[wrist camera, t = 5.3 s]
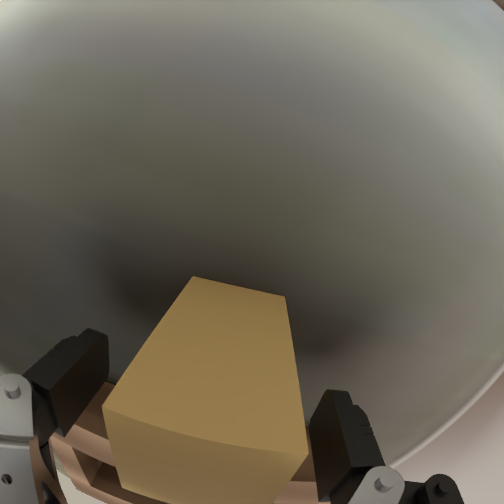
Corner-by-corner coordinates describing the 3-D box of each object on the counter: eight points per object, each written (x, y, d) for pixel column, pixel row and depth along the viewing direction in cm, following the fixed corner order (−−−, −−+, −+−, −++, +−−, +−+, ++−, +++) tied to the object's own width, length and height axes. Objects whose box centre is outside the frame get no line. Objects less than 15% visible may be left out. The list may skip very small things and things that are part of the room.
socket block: (66, 364, 14) (32, 400, 10) (350, 430, 14) (364, 479, 10) (92, 459, 17) (76, 489, 13) (291, 505, 17) (293, 539, 13)
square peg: (192, 275, 12) (101, 406, 4) (284, 296, 12) (308, 453, 4) (182, 351, 13) (122, 487, 5) (263, 369, 13) (259, 519, 5)
